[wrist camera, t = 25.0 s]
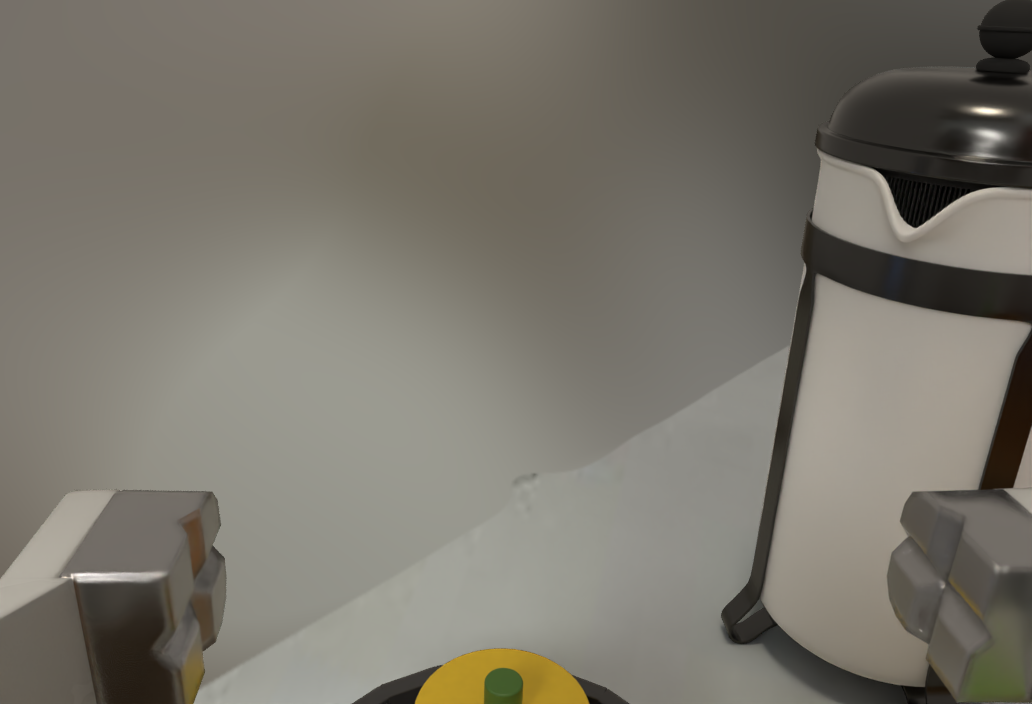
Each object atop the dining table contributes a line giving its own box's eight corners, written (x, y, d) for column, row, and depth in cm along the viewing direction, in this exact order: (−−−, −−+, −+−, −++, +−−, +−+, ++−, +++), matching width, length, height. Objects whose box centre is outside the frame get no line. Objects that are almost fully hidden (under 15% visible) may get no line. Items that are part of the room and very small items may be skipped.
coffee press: (1126, 762, 37) (1443, 8, 25) (753, 744, 37) (897, -12, 25) (948, 529, 53) (1090, 4, 41) (688, 518, 53) (758, -8, 41)
